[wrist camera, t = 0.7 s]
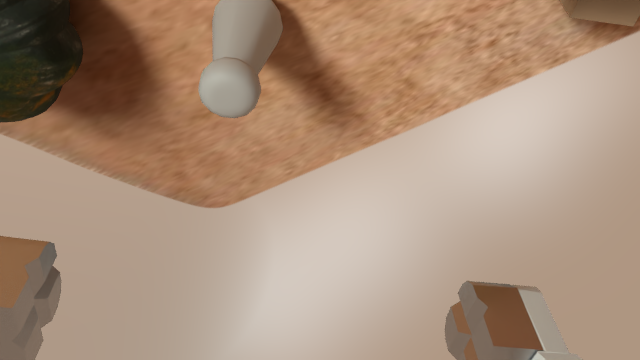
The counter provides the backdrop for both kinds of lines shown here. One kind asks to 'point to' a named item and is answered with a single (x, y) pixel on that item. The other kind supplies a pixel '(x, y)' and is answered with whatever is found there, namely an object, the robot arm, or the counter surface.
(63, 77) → the squash
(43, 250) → the robot arm
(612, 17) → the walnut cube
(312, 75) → the counter surface
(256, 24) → the salt shaker
